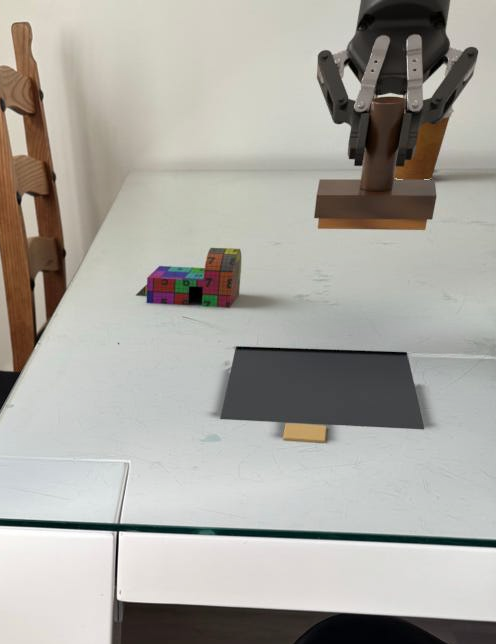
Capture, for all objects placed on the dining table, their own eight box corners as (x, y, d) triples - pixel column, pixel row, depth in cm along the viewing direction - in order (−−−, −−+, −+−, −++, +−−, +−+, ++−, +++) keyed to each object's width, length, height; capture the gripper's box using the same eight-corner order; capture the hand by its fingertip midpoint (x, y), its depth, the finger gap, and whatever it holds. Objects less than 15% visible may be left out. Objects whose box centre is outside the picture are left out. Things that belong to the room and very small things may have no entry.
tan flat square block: (324, 439, 81) (326, 425, 80) (323, 454, 78) (325, 440, 78) (284, 436, 82) (285, 422, 81) (281, 451, 79) (283, 437, 78)
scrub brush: (428, 214, 92) (450, 92, 85) (430, 231, 88) (453, 105, 82) (315, 213, 94) (329, 94, 88) (312, 229, 91) (326, 107, 84)
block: (242, 300, 116) (247, 238, 112) (228, 319, 110) (233, 254, 106) (141, 294, 120) (143, 234, 116) (123, 313, 113) (124, 250, 110)
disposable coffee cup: (414, 185, 171) (427, 106, 165) (372, 178, 178) (383, 102, 172) (453, 179, 175) (467, 101, 168) (411, 172, 182) (423, 98, 176)
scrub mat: (404, 358, 97) (406, 347, 96) (422, 440, 80) (424, 428, 79) (235, 352, 100) (236, 342, 100) (218, 430, 83) (219, 418, 83)
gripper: (326, -46, 87) (296, 130, 84) (501, -55, 83) (476, 129, 80) (323, 23, 94) (295, 187, 91) (484, 18, 90) (460, 189, 87)
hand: (380, 159), depth 86 cm, fingers closed on scrub brush, 3 cm apart
